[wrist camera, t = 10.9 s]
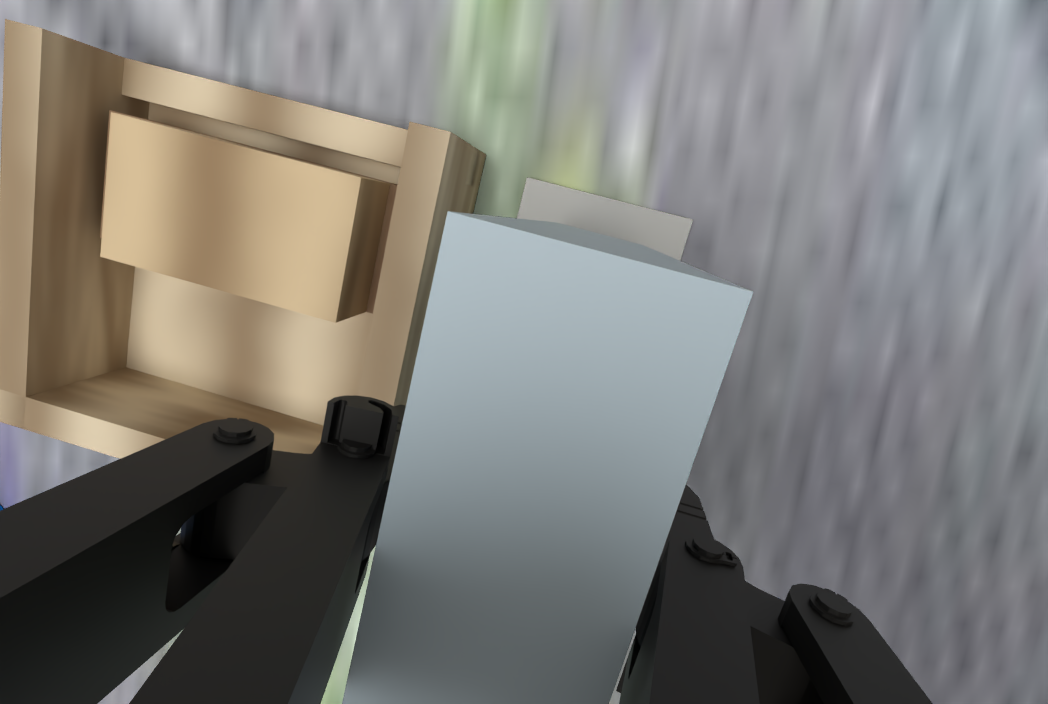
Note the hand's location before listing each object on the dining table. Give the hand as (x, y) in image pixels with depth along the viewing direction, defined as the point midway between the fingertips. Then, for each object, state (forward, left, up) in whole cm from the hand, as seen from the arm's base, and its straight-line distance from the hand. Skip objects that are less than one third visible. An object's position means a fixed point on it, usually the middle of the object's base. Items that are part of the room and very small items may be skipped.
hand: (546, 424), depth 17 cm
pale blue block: (0, 0, -8) cm, 8 cm away
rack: (+13, 0, -9) cm, 16 cm away
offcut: (+12, -3, -6) cm, 14 cm away
